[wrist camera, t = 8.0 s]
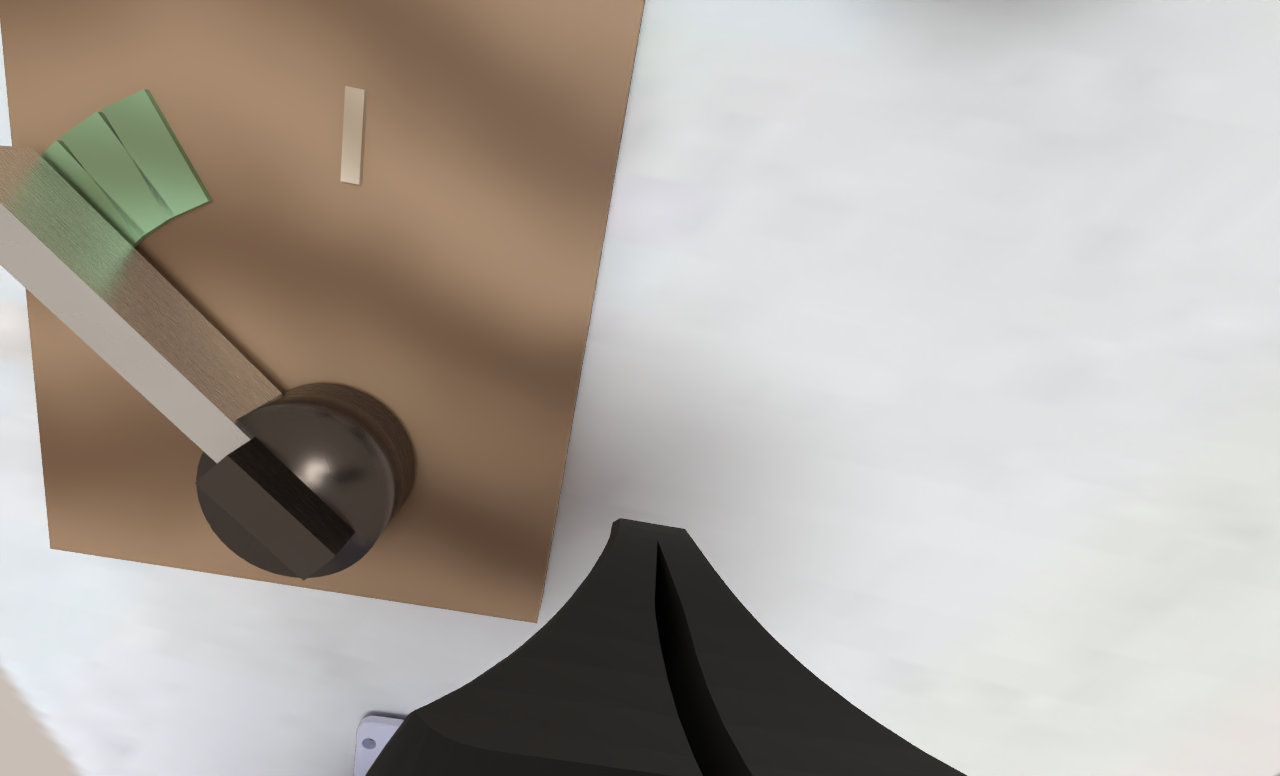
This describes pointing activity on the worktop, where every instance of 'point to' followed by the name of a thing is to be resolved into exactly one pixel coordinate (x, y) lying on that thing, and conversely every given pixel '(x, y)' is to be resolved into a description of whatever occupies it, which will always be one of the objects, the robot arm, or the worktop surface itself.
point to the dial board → (337, 253)
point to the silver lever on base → (211, 389)
